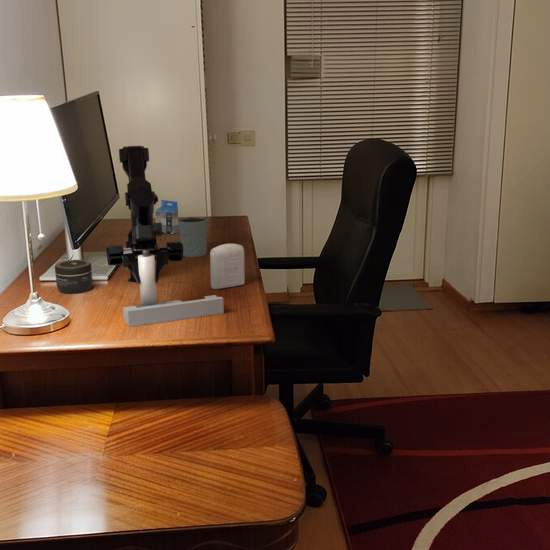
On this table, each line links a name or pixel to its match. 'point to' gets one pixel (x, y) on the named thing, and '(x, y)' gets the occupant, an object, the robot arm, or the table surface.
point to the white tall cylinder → (147, 278)
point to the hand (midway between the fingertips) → (148, 282)
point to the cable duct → (173, 311)
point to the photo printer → (227, 266)
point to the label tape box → (168, 217)
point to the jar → (73, 276)
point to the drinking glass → (193, 235)
